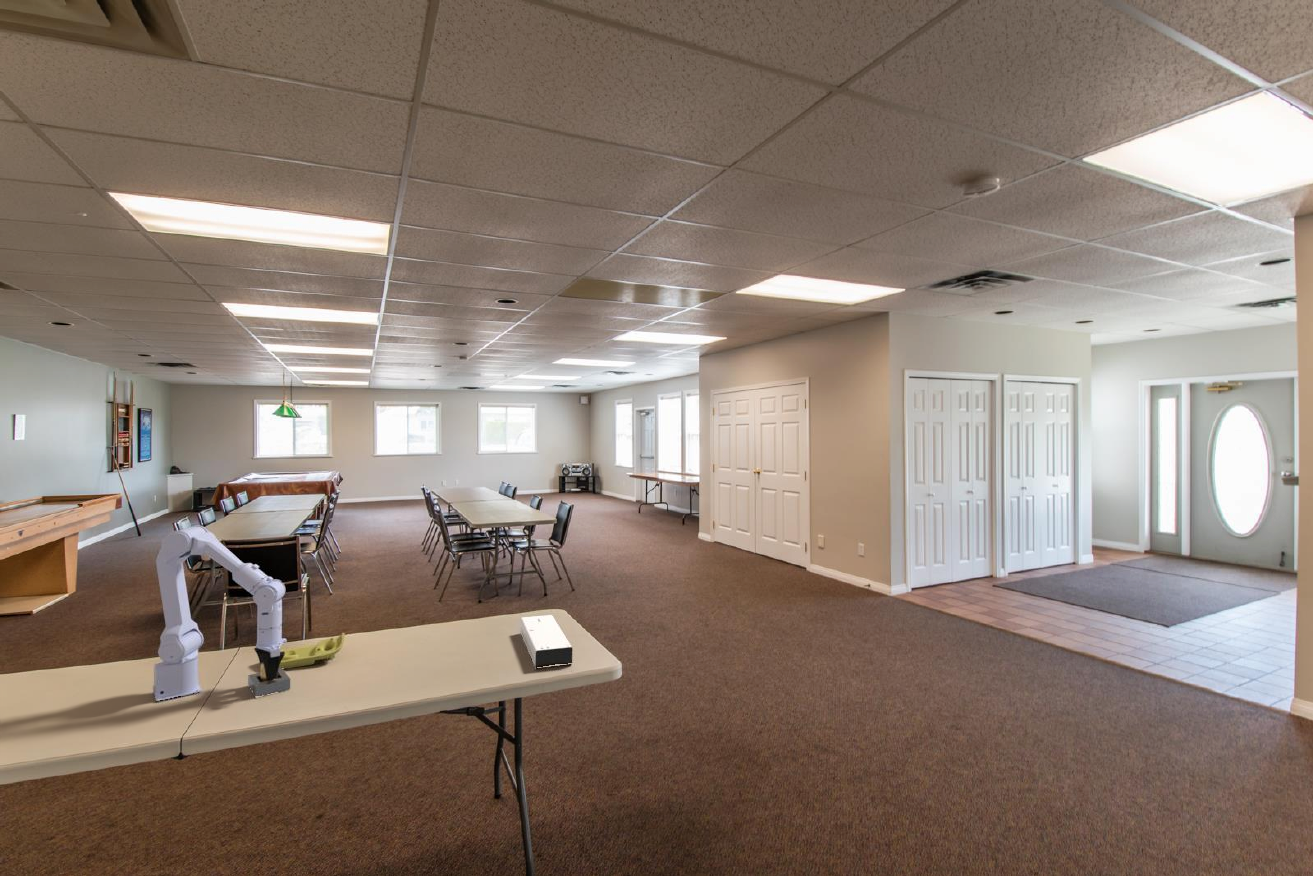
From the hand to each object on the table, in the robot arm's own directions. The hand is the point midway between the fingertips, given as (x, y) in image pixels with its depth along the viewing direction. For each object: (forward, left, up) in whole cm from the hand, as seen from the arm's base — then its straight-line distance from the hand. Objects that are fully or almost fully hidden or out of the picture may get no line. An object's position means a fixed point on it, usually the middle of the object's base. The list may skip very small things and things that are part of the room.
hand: (269, 675), depth 169 cm
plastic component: (+13, +14, -4) cm, 19 cm away
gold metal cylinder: (0, 0, -3) cm, 3 cm away
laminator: (+74, -23, -4) cm, 78 cm away
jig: (0, 0, -3) cm, 3 cm away
